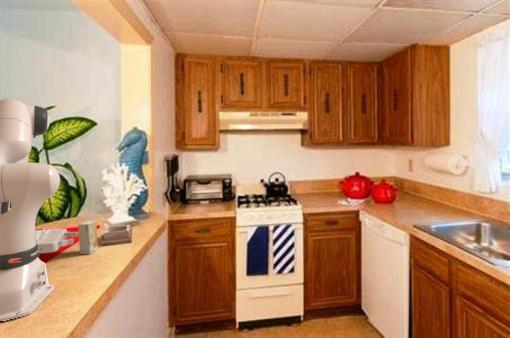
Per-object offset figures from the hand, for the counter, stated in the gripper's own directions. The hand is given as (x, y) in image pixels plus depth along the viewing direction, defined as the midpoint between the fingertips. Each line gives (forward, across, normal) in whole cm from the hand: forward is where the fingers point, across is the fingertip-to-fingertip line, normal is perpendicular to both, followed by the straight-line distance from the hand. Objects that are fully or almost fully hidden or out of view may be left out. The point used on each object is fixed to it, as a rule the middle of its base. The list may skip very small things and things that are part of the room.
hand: (75, 237), depth 125 cm
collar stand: (+14, +14, +6) cm, 21 cm away
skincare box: (+4, 0, +7) cm, 8 cm away
